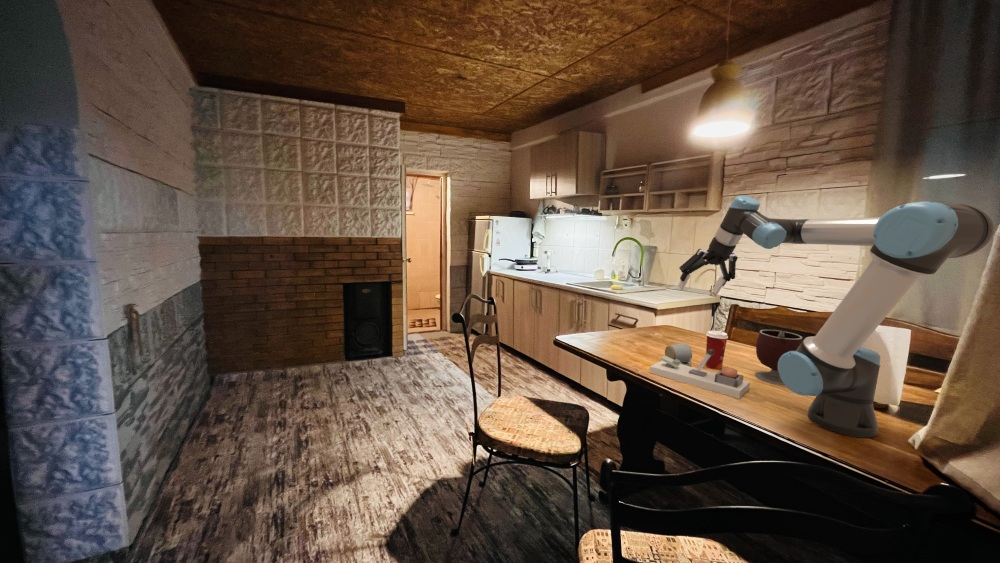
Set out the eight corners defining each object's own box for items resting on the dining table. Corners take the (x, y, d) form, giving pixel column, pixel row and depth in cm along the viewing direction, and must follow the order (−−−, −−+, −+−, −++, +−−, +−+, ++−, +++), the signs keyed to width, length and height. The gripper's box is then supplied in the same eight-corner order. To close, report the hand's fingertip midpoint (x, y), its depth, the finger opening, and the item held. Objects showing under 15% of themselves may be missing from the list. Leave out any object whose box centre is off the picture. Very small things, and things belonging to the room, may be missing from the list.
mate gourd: (752, 369, 157) (758, 320, 155) (796, 377, 150) (803, 325, 147) (752, 381, 144) (759, 327, 142) (799, 391, 137) (808, 334, 134)
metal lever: (702, 371, 143) (716, 351, 139) (699, 372, 142) (714, 352, 138) (696, 367, 144) (710, 347, 141) (694, 368, 143) (708, 348, 139)
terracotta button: (738, 376, 136) (739, 369, 136) (734, 379, 133) (735, 372, 133) (724, 373, 139) (724, 366, 139) (720, 376, 136) (720, 369, 136)
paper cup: (727, 371, 155) (731, 336, 153) (706, 369, 156) (710, 334, 154) (720, 364, 162) (723, 330, 160) (699, 362, 163) (703, 329, 161)
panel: (749, 389, 137) (750, 375, 137) (739, 398, 129) (740, 383, 128) (662, 365, 158) (664, 353, 158) (649, 372, 150) (650, 359, 149)
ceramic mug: (662, 359, 166) (664, 341, 165) (680, 358, 168) (681, 341, 167) (678, 368, 156) (680, 349, 155) (696, 367, 158) (699, 349, 157)
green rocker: (679, 365, 149) (681, 361, 149) (676, 367, 147) (677, 363, 146) (664, 358, 153) (665, 354, 153) (660, 359, 151) (661, 355, 150)
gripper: (753, 240, 140) (724, 287, 152) (686, 230, 137) (662, 280, 150) (765, 251, 134) (733, 300, 146) (695, 241, 131) (669, 292, 143)
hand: (697, 290), depth 148 cm, fingers open, 13 cm apart
